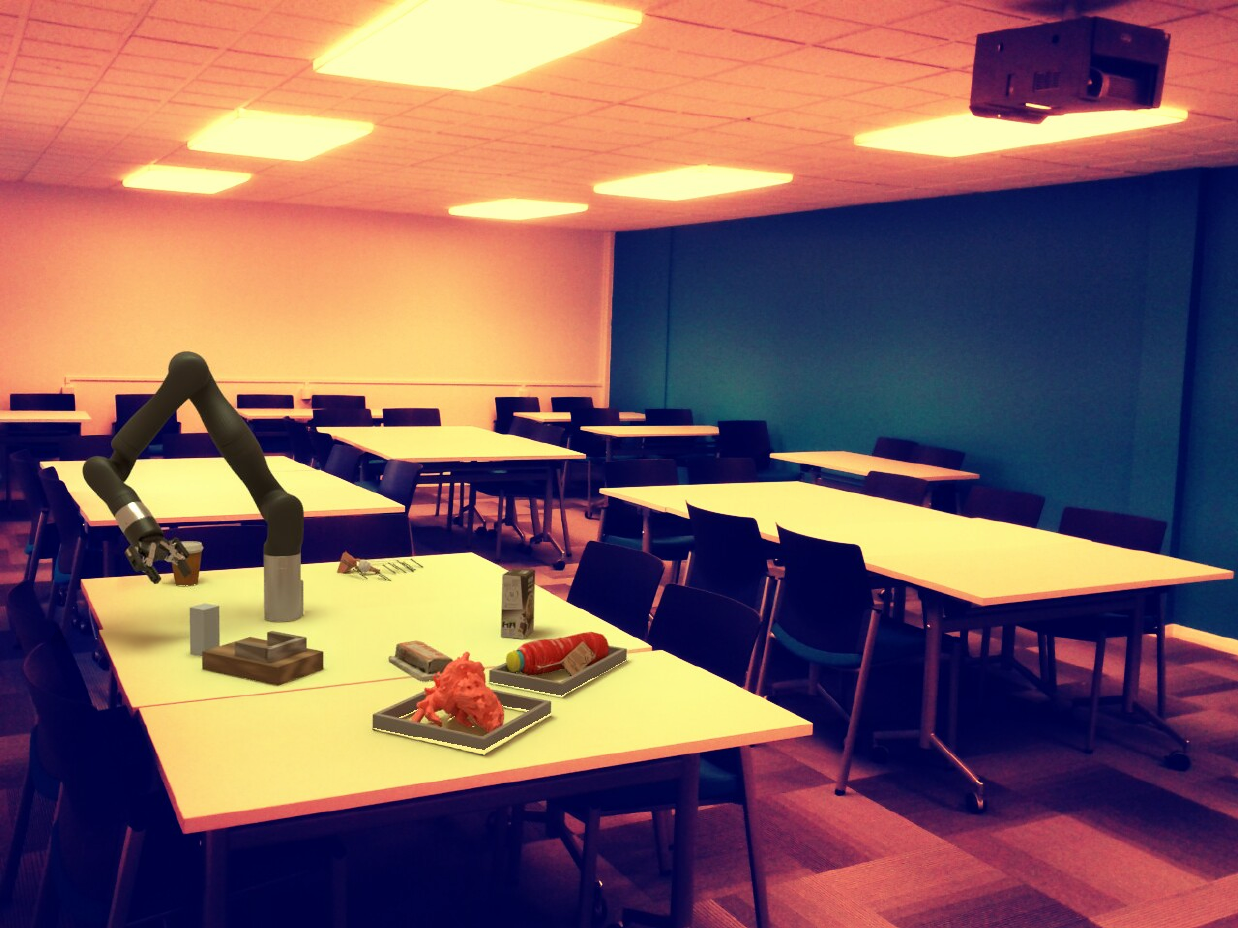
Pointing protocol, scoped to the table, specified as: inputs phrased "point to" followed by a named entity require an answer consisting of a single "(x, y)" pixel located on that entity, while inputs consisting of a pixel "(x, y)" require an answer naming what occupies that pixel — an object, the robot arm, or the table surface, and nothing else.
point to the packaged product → (419, 660)
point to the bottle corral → (554, 687)
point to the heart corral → (393, 723)
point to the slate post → (204, 628)
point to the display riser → (265, 658)
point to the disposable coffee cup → (189, 564)
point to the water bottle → (558, 654)
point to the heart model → (462, 696)
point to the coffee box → (517, 603)
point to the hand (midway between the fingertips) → (173, 578)
